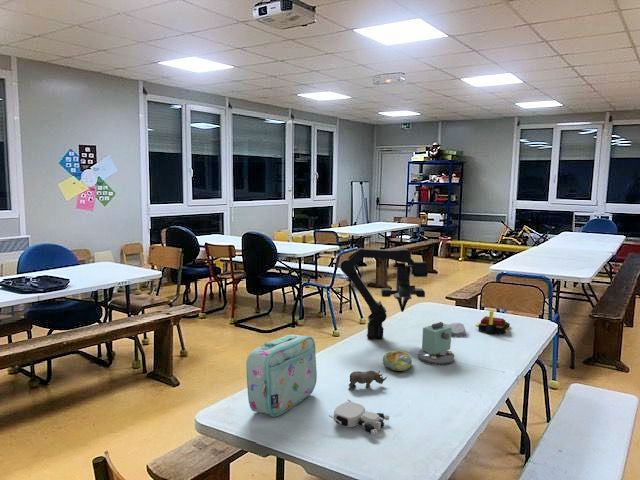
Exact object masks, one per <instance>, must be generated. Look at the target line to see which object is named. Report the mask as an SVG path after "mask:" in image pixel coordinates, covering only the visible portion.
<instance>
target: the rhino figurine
mask: <svg viewBox="0 0 640 480" xmlns="http://www.w3.org/2000/svg"><path fill="white" fill-rule="evenodd" d="M380 373H381V370H378V371H377V372H376V371H375V370H371V369H370V370H367V371H352V372H351V373H350V374H349V384H348V390H349V391H353V390H354V388H356V387H357V385H356V384H357V383H358V384H361V385H364V384H365V389H366V390H370V389H371V387H370V386H371V383H373V381H375V382H376V383H377V384H379V385H382V384H383V382H384V381H386V379H387V377H388V376H385V377H384V376H383V373H381V374H380Z"/></svg>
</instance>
